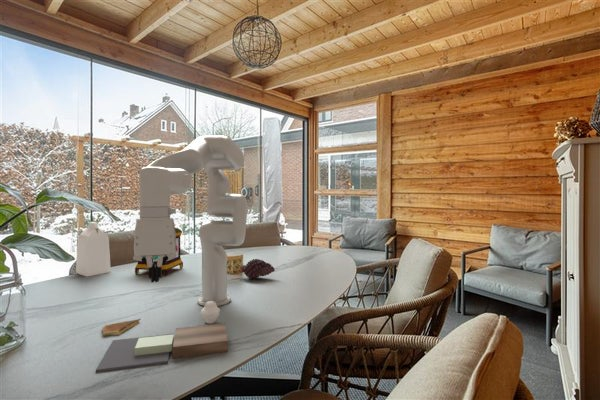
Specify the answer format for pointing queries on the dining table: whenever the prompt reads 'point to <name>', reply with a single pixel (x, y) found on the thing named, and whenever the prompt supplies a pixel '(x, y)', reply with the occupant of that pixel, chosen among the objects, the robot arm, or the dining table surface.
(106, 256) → the milk
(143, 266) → the decorative lantern
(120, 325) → the shard
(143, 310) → the dining table surface
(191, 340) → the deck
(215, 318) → the white swirled ornament
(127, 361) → the mat
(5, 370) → the dining table surface
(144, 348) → the pale green block
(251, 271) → the pine cone
